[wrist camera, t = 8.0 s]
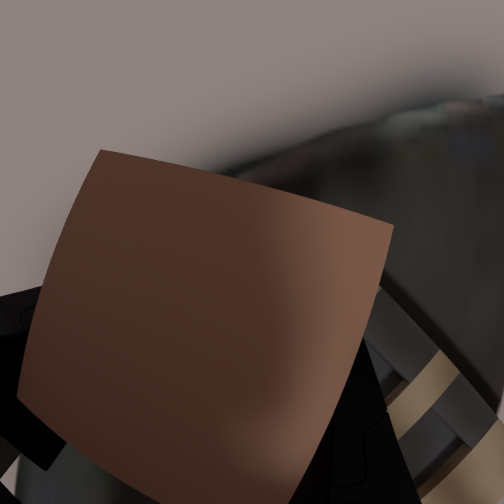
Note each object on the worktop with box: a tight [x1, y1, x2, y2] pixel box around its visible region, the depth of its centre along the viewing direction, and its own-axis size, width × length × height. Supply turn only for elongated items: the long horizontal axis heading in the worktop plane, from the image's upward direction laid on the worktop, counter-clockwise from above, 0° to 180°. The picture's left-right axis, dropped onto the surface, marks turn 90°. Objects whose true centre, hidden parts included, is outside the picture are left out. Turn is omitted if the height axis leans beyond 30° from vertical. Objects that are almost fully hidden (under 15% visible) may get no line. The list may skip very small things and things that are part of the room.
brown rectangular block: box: [17, 150, 394, 504], centre depth 8 cm, size 4×4×10 cm
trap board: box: [363, 286, 504, 504], centre depth 17 cm, size 14×30×2 cm, turn 43°
